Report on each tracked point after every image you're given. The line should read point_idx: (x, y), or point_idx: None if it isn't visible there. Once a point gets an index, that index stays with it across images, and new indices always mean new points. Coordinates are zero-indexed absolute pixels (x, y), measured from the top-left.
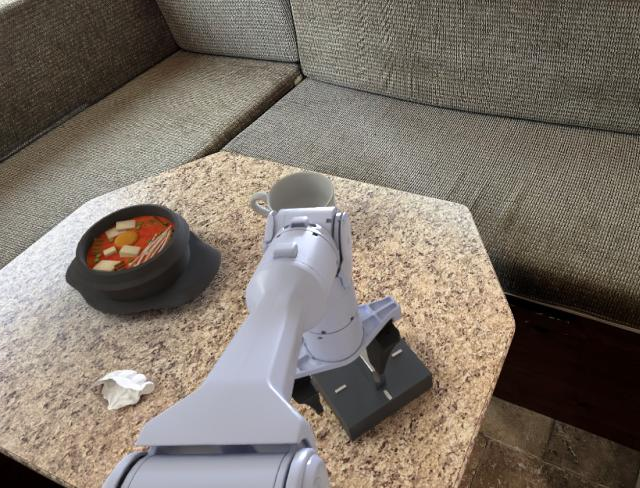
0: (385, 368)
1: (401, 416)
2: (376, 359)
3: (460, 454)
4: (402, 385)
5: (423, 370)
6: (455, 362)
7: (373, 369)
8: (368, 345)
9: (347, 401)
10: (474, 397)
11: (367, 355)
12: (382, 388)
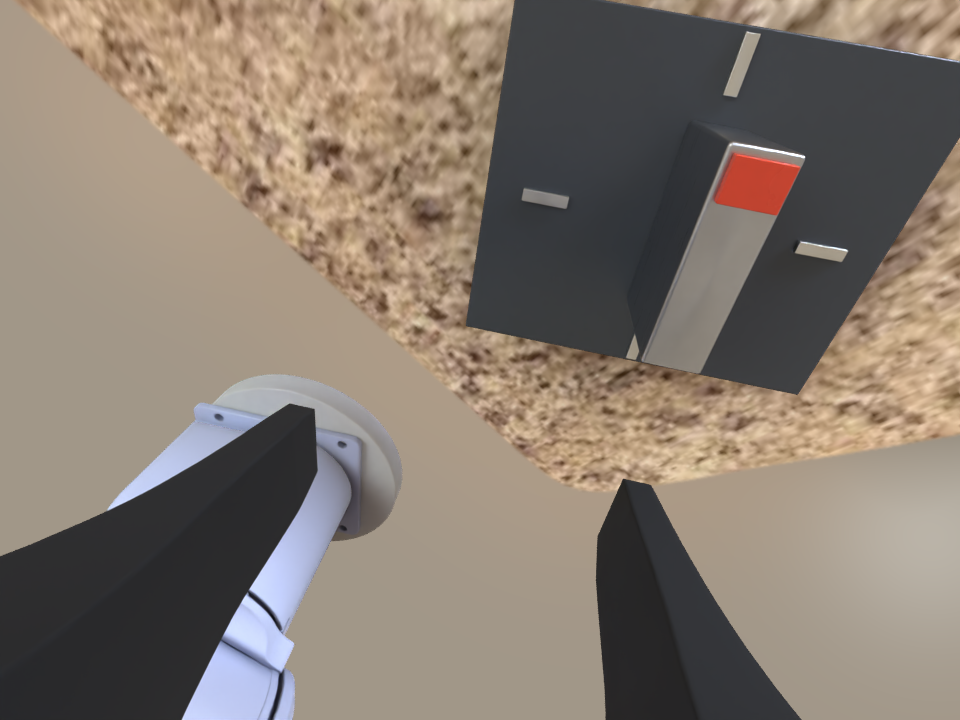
0: None
1: None
2: (615, 639)
3: None
4: None
5: (794, 370)
6: (896, 351)
7: (653, 359)
8: (649, 639)
9: (527, 254)
10: (796, 445)
11: (633, 510)
12: None
